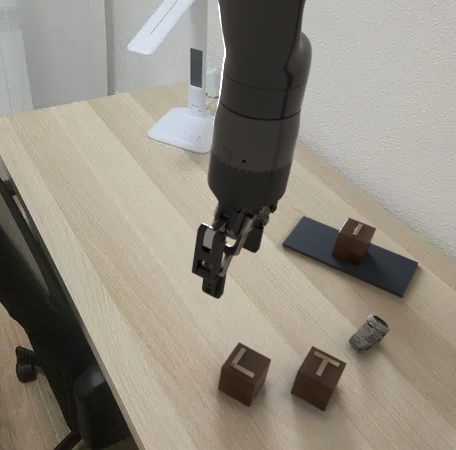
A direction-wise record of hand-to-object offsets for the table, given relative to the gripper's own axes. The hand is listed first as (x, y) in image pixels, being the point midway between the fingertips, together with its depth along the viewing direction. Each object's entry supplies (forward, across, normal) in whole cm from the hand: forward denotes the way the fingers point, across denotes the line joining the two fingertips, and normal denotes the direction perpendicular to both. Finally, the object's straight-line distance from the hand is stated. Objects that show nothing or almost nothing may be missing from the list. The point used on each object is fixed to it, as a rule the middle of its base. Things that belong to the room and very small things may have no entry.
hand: (231, 270), depth 61 cm
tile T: (+19, +5, -12) cm, 23 cm away
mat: (+19, +33, -7) cm, 39 cm away
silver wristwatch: (+20, +16, -15) cm, 30 cm away
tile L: (+19, 0, -4) cm, 20 cm away
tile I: (+19, +33, -7) cm, 39 cm away
